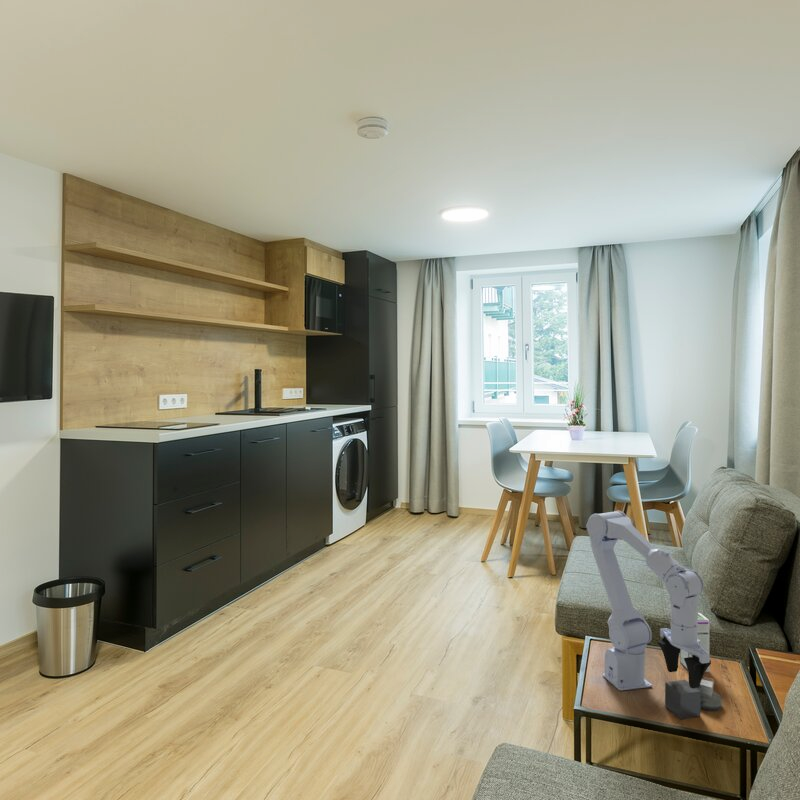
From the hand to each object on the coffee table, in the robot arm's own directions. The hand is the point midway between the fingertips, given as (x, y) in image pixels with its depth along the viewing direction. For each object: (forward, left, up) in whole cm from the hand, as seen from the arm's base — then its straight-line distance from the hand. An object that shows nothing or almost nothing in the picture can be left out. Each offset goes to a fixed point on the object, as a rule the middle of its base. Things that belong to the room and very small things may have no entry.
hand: (683, 679), depth 137 cm
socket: (0, 0, -8) cm, 8 cm away
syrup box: (+18, +18, -8) cm, 27 cm away
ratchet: (+11, +5, -8) cm, 14 cm away
